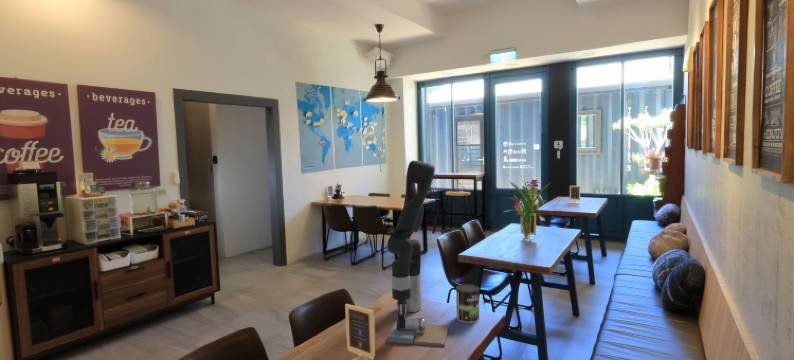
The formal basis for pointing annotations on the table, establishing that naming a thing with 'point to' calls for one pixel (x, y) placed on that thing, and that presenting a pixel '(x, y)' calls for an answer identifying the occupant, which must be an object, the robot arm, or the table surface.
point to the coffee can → (467, 303)
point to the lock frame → (420, 335)
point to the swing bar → (413, 324)
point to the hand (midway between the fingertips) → (402, 327)
